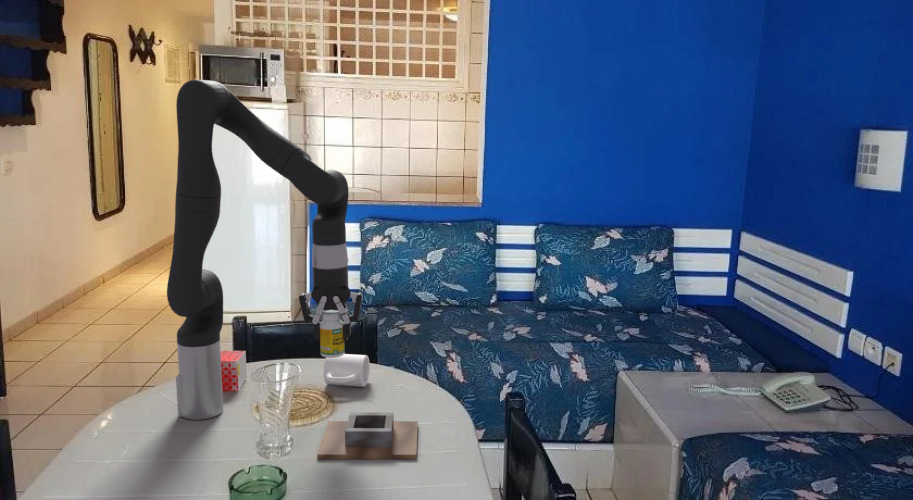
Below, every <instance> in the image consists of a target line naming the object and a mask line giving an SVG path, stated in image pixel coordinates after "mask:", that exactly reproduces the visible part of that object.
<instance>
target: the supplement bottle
mask: <svg viewBox="0 0 913 500" xmlns="http://www.w3.org/2000/svg"><path fill="white" fill-rule="evenodd" d="M341 317H342V316H341V314H340V312H339V310H323V312H322V314H321V318H322V321H320V325H319V328H320V340H319V344H320V345H319V346H320V348H319V349H320V355H321V356H322V357H323V358H326V357H328V358H335V357H340V356H342V355H344V354H346V352H345V347H346V346H345V345H346V344H345V341H346V340H344V326H343V324H344V320H343V319H342V320H341Z"/></svg>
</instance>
